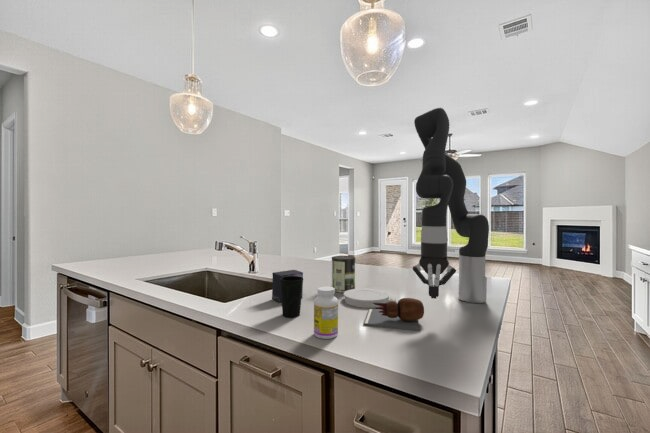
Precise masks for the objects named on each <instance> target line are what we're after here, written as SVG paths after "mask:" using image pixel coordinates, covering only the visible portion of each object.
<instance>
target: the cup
mask: <svg viewBox="0 0 650 433" xmlns="http://www.w3.org/2000/svg"><path fill="white" fill-rule="evenodd" d="M303 284H304V277H303V278H302V277H299V276H285V277H281V278H280V289H281V300H282V303H281V308H282V310H281V311H282V316H283V317H284V318H291V319H292V318H293V319H294V318H298V317H299V316H300V315H301V308H302V307H301V306H302V299H303V295H302V287H303V286H304V285H303ZM303 288H304V287H303Z"/></svg>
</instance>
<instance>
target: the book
mask: <svg viewBox="0 0 650 433" xmlns="http://www.w3.org/2000/svg"><path fill="white" fill-rule="evenodd" d="M379 311H383V310H378V309H375V308H374V309H373V308H368V310H367V312H366V315H365V318H364V321H363V323H362V324H363V326H367V327H376V328H377V327H378V328H386V327H387V328H388V329H399V330H409V331H418V332H419V331H420V322H419V320H416V321H403V320H401V319H400V318H399V317H396V318H389V317H388V316H383V315H381V314H383V313H380V312H379Z"/></svg>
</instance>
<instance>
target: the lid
mask: <svg viewBox="0 0 650 433" xmlns="http://www.w3.org/2000/svg"><path fill="white" fill-rule="evenodd" d="M343 298H344V302H345V304H348V305H350V306H353V307H359V308H365V309H366V308H367V309H373V308H374V309H375V308H379V307H382V306H379V305H375V304H373V303H388V302H390V301H395V302H397V299H396V297H395V296H393V295H390V294H389V293H388V292H386V291H383V290H381V289H380V290H379V289H374V288H355V289H351V290H347V291H345V292H343Z"/></svg>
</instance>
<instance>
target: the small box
mask: <svg viewBox="0 0 650 433" xmlns="http://www.w3.org/2000/svg"><path fill="white" fill-rule="evenodd" d="M285 276H299V277H302V278H303V279H304V272H303V271H300V270H297V269H289V270H282V271H274V272H272V285H271V286H272V288H271V291H272V292H271V299H272V300H273V301H275V302H277V303H281V304H282V300H281V289H280V278H281V277H285ZM303 288H304V287H302V296H303V295H304V294H303Z"/></svg>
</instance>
